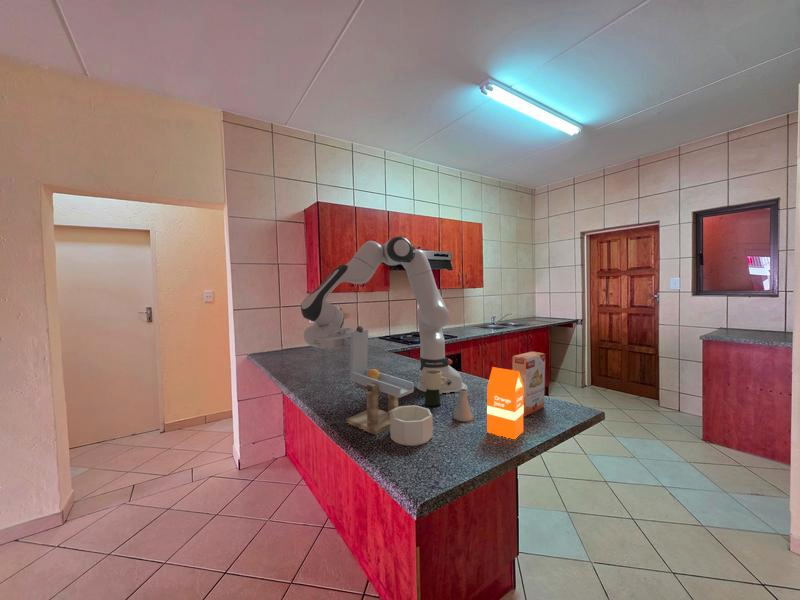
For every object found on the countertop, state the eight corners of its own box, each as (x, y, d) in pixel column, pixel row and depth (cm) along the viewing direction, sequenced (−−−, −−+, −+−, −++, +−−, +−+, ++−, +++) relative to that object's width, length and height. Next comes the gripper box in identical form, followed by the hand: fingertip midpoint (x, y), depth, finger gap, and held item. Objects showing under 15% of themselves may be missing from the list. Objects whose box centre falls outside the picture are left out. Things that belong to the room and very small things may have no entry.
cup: (427, 425, 104) (427, 404, 104) (435, 444, 92) (435, 420, 91) (389, 427, 103) (388, 406, 103) (391, 446, 91) (391, 422, 90)
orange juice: (496, 424, 105) (496, 364, 104) (523, 431, 100) (524, 368, 99) (486, 432, 99) (486, 369, 98) (514, 440, 94) (515, 374, 93)
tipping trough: (348, 385, 110) (349, 326, 108) (363, 380, 116) (364, 324, 114) (398, 404, 95) (401, 336, 94) (413, 397, 101) (415, 333, 99)
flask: (458, 423, 106) (458, 394, 106) (449, 415, 113) (449, 387, 113) (477, 421, 108) (477, 392, 107) (467, 413, 115) (467, 385, 114)
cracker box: (526, 417, 110) (526, 358, 109) (510, 412, 115) (511, 355, 114) (545, 408, 119) (546, 352, 118) (530, 403, 124) (530, 350, 123)
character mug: (448, 402, 125) (448, 370, 125) (444, 409, 118) (444, 375, 118) (421, 399, 129) (421, 368, 128) (416, 405, 122) (416, 372, 122)
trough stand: (345, 423, 107) (345, 379, 106) (374, 411, 117) (373, 371, 116) (375, 435, 98) (375, 387, 97) (403, 421, 108) (402, 377, 108)
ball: (377, 378, 110) (380, 367, 109) (377, 384, 106) (380, 373, 105) (366, 376, 109) (369, 365, 108) (366, 381, 105) (368, 371, 104)
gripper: (310, 333, 112) (334, 336, 103) (353, 328, 128) (378, 330, 119) (310, 351, 113) (334, 356, 104) (354, 343, 128) (378, 347, 119)
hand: (358, 342), depth 111 cm, fingers closed, pressing on tipping trough
